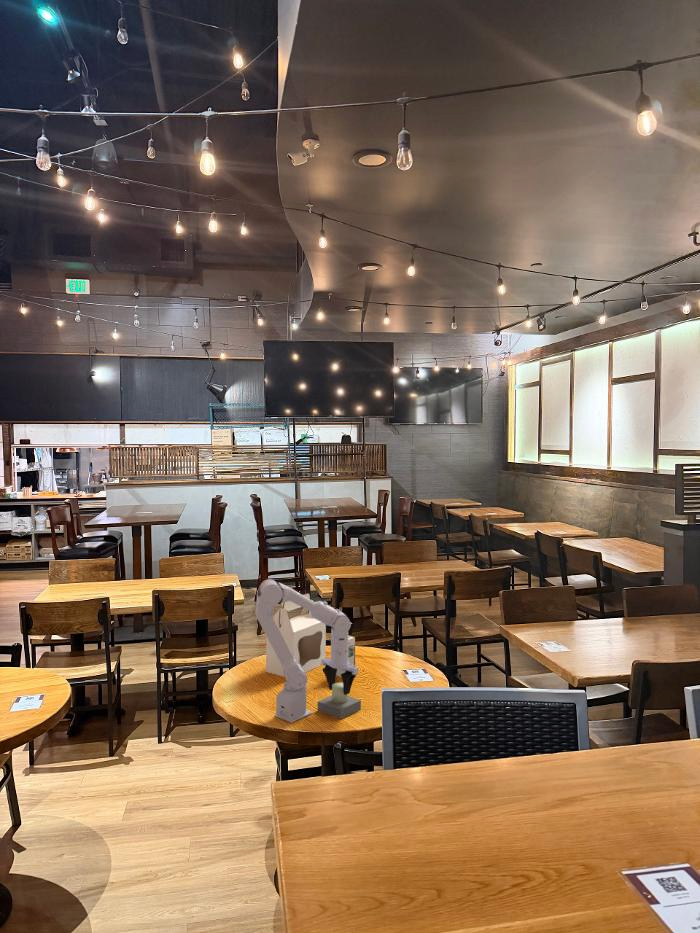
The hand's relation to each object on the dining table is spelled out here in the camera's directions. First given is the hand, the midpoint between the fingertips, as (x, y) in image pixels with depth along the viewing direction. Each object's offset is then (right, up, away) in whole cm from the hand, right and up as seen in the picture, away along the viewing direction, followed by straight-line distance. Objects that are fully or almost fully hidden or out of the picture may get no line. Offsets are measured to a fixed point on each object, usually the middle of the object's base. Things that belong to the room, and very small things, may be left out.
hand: (339, 691), depth 201 cm
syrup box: (+2, -6, +33) cm, 34 cm away
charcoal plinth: (0, -6, 0) cm, 6 cm away
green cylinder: (0, -3, 0) cm, 3 cm away
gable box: (-18, -6, +41) cm, 45 cm away
